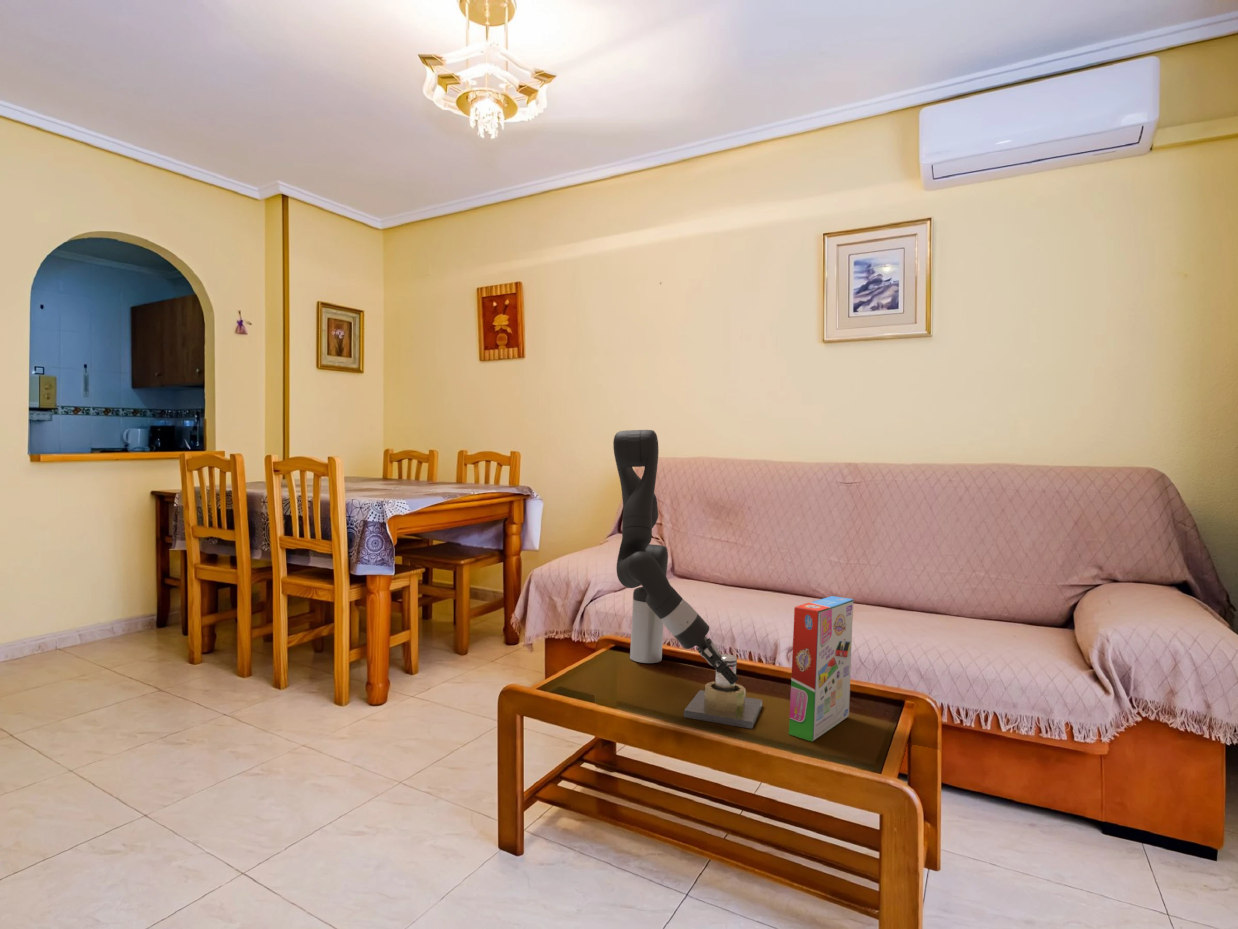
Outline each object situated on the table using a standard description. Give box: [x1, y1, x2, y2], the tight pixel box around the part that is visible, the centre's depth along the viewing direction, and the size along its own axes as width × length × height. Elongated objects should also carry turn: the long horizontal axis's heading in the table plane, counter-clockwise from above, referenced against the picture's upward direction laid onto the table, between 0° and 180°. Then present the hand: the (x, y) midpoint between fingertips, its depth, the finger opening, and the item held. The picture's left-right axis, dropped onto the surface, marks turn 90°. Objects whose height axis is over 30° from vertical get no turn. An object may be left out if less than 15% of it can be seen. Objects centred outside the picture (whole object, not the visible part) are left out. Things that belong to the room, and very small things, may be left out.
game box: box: [788, 595, 854, 742], centre depth 147 cm, size 21×6×27 cm, turn 141°
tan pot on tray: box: [683, 680, 763, 730], centre depth 153 cm, size 16×15×6 cm
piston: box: [715, 653, 738, 692], centre depth 153 cm, size 5×5×11 cm
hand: (731, 676), depth 153 cm, fingers open, 8 cm apart
